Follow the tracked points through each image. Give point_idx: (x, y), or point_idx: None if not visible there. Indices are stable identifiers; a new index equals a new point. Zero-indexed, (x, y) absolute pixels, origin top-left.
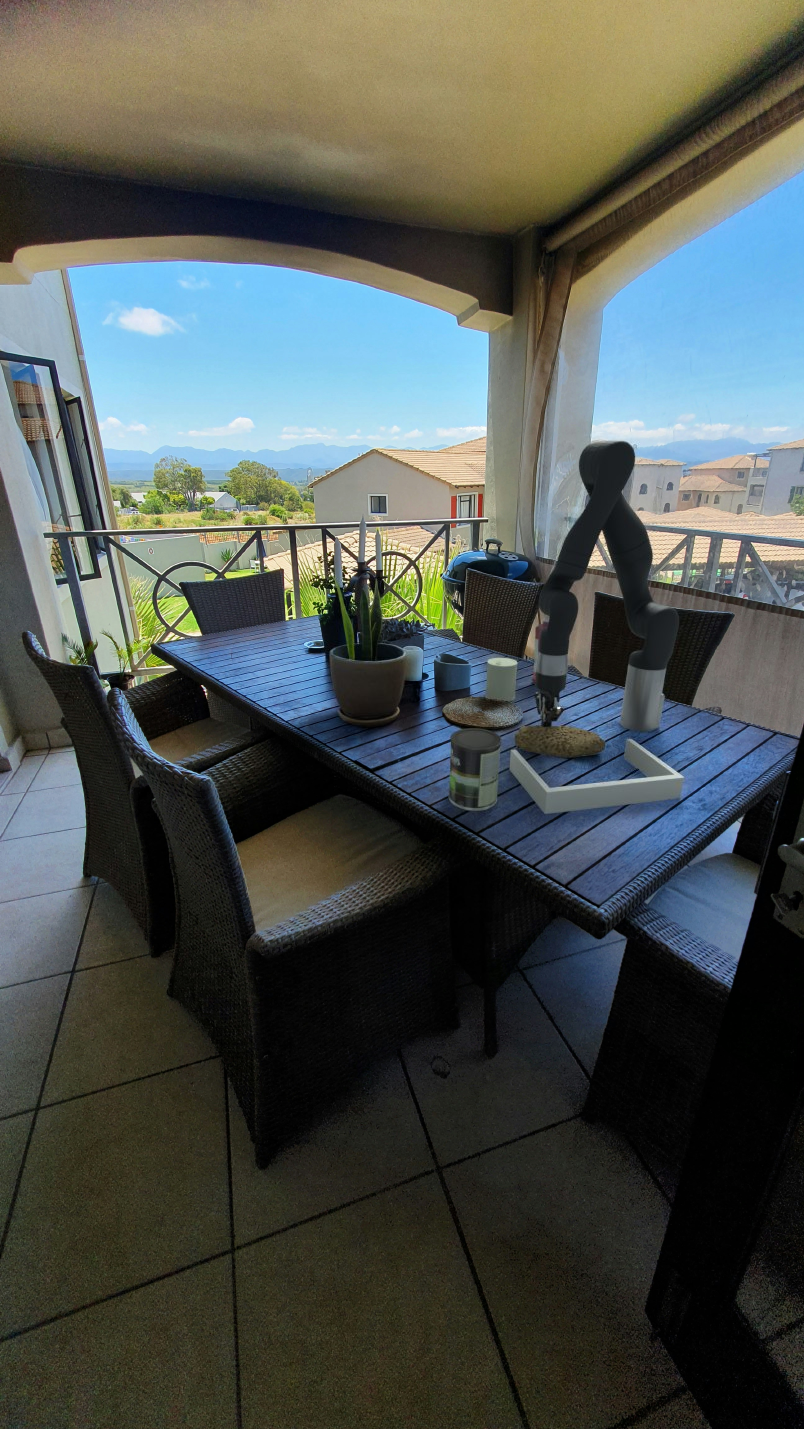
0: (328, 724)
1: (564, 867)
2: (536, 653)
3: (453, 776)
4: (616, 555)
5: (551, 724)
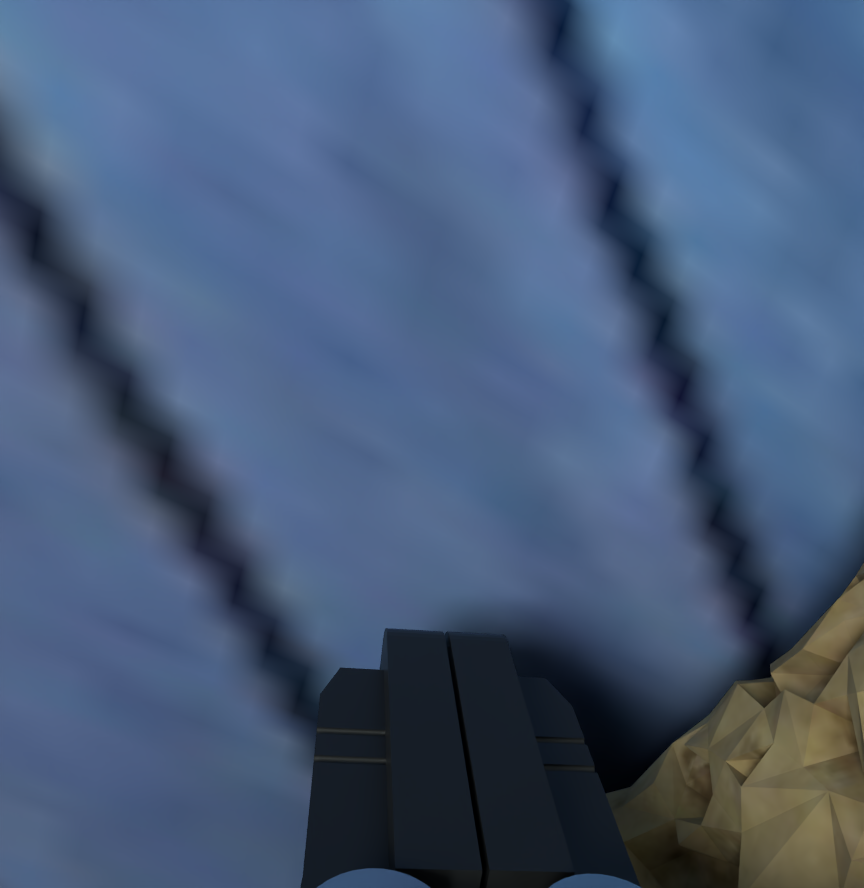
0: None
1: None
2: None
3: None
4: None
5: (543, 780)
